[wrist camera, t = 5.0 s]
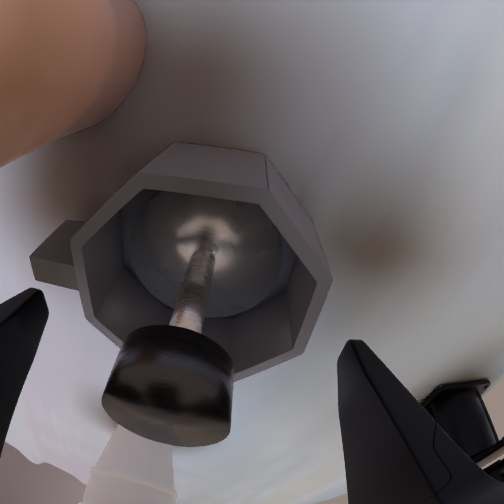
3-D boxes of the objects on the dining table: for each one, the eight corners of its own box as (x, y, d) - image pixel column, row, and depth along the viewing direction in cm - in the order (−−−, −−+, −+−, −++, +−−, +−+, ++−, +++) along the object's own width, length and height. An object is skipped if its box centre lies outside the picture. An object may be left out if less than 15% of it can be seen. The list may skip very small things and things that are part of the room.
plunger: (296, 193, 10) (342, 358, 4) (265, 316, 13) (268, 471, 7) (134, 170, 10) (8, 299, 4) (137, 296, 13) (81, 437, 7)
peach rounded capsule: (160, -24, 7) (72, -94, 2) (136, 133, 10) (32, 196, 5) (28, 1, 6) (-81, -4, 1) (16, 132, 9) (-90, 186, 4)
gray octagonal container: (327, 166, 10) (357, 206, 7) (282, 325, 14) (287, 388, 11) (69, 136, 10) (10, 164, 7) (85, 292, 14) (54, 345, 10)
